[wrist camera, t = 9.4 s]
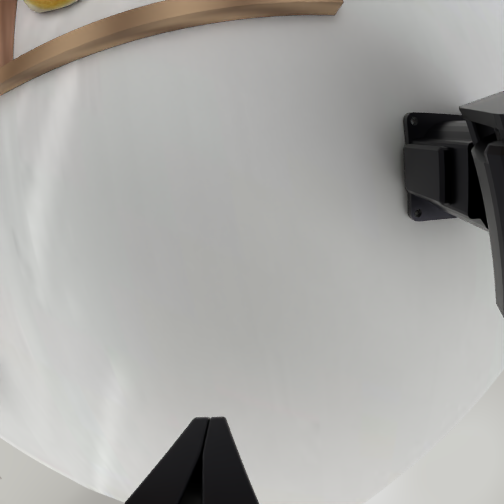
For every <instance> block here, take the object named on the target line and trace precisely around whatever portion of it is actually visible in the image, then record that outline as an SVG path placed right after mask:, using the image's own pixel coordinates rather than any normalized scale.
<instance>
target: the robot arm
mask: <svg viewBox="0 0 504 504" xmlns="http://www.w3.org/2000/svg"><path fill="white" fill-rule="evenodd" d="M459 109H460V112H461V114H462V115H450V114H435V113H415V112H413V113H407V114H406V115H405V117H404V128H405V139H406V145H405V147H404V162H405V186H406V190H407V191H408V213H409V217H410V218H411V219H413V220H414V221H427V220H437V219H447V218H457V217H458V218H460V219H462V220H465V221H467V222H469V223H471V224H473V225H475V226H477V227H479V228H481V229H484V230H486V231H488V232H489V235H490V242H491V250H492V258H493V267H494V278H495V291H496V304H497V306H498V308H499V310H500V311H501V313H502V315H503V317H504V91H502V92H499V93H496V94H494V95H491V96H488V97H485V98H482V99H479V100H477V101H474V102H471V103H468V104H466V105H463V106H460V107H459ZM412 117H413V118H414V120H415V123H414V125H413V124H412V123H411V121H410V120H411V118H412ZM417 209H418V210H419V213H418V215H417V216H415V211H416V210H417ZM125 504H259V502H258V500H257V497H256V495H255V493H254V490H253V488H252V485H251V483H250V480H249V478H248V475H247V473H246V470H245V468H244V465H243V463H242V460H241V458H240V455H239V452H238V450H237V447H236V445H235V442H234V439H233V436H232V434H231V431H230V428H229V426H228V423H227V420H226V418H225V417H211V418H209V417H196V418H194V419H193V420H192V421H191V423H190V424H189V425H188V427H187V428H186V429H185V430H184V432H183V433H182V434H181V435H180V437H179V438H178V439H177V440H176V442H175V443H174V444H173V445H172V447H171V448H170V449H169V450H168V452H167V453H166V454H165V455H164V457H163V458H162V459H161V460H160V461H159V463H158V464H157V465H156V466H155V468H154V469H153V470H152V471H151V472H150V474H149V475H148V476H147V477H146V478H145V480H144V481H143V482H142V483H141V484H140V485H139V487H138V488H137V489H136V490H135V491H134V493H133V494H132V495H131V496H130V497H129V498H128V500H127V501H126V502H125Z"/></svg>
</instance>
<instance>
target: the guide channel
mask: <svg viewBox="0 0 504 504" xmlns="http://www.w3.org/2000/svg"><path fill="white" fill-rule="evenodd" d="M342 4H343V0H165V1H161V2H157V3H153V4H149V5H146V6H142V7H139V8H135V9H132V10H128V11H125V12H122V13H119V14H116V15H113V16H110V17H107V18H104V19H101V20H99V21H96V22H93V23H91V24H88V25H86V26H83V27H81V28H78V29H76V30H73V31H71V32H69V33H66V34H64V35H62V36H59V37H57V38H55V39H53V40H51V41H49V42H47V43H44V44H42V45H40V46H38V47H36V48H34V49H33V50H31V51H29V52H27V53H25V54H23V55H21V56H19V57H18V58H16V59H14V60H13V43H14V27H15V15H16V6H17V0H0V96H1V95H3V94H4V93H6V92H8V91H10V90H12V89H14V88H16V87H17V86H19V85H21V84H23V83H25V82H27V81H29V80H31V79H33V78H36V77H38V76H40V75H42V74H44V73H46V72H49V71H51V70H53V69H55V68H58V67H60V66H62V65H65V64H67V63H70V62H72V61H75V60H77V59H80V58H83V57H85V56H88V55H91V54H93V53H96V52H99V51H102V50H105V49H108V48H111V47H114V46H117V45H120V44H124V43H127V42H130V41H134V40H137V39H141V38H145V37H148V36H152V35H156V34H160V33H165V32H169V31H173V30H178V29H183V28H188V27H193V26H198V25H204V24H210V23H216V22H223V21H230V20H238V19H247V18H257V17H270V16H287V15H335V14H336V12H337V11H338V9H339V8H340V7H341V5H342Z"/></svg>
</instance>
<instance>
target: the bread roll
mask: <svg viewBox="0 0 504 504" xmlns="http://www.w3.org/2000/svg"><path fill="white" fill-rule="evenodd" d="M76 1H78V0H24V2H25V3H26V4H27V5H28V7H29V8H30V9H31V10H33V11H35V12H37V13H42V12H47V11H51V10H56V9H60V8H63V7H66V6H68V5H71V4H73V3H74V2H76Z"/></svg>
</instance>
